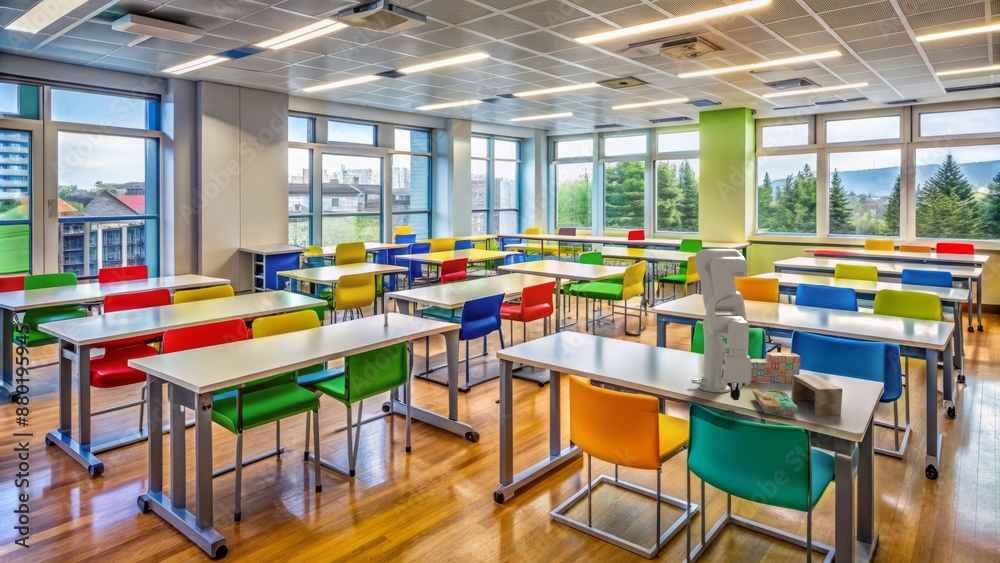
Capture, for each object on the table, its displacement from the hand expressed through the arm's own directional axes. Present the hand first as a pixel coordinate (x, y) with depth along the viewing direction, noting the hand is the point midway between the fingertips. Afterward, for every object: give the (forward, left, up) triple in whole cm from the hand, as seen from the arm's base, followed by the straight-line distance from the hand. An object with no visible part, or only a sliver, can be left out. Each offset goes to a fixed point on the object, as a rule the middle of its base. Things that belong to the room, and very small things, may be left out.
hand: (734, 399), depth 230 cm
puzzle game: (+15, 0, -4) cm, 16 cm away
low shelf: (+31, 0, -3) cm, 31 cm away
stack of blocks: (+30, +35, -4) cm, 47 cm away
